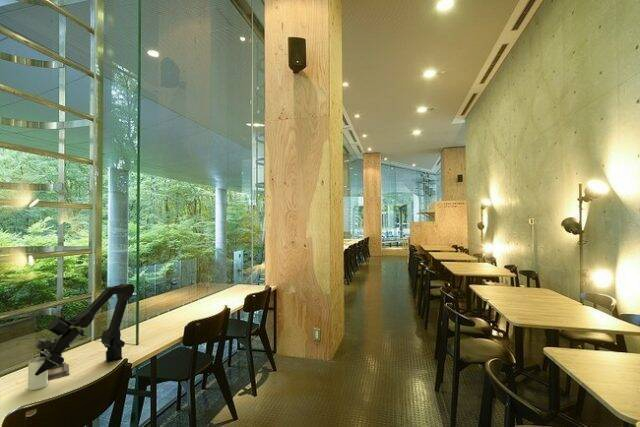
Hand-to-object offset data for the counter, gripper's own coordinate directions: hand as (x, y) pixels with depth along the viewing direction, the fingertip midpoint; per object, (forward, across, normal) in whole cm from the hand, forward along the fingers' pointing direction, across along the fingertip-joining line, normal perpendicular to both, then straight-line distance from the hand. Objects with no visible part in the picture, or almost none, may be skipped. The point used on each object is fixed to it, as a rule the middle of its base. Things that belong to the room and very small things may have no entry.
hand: (33, 373), depth 141 cm
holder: (-1, -11, +10) cm, 15 cm away
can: (+4, 0, +6) cm, 7 cm away
